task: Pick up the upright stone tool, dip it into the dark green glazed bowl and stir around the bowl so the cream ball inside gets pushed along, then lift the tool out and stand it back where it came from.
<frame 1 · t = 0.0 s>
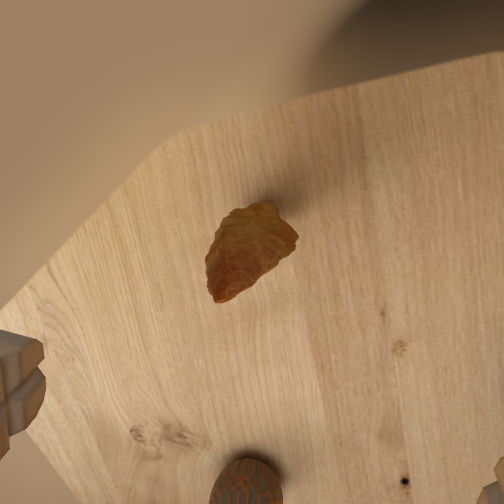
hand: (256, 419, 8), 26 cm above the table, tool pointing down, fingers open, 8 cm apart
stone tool: (269, 207, 34), on the table
vase: (252, 470, 46), on the table
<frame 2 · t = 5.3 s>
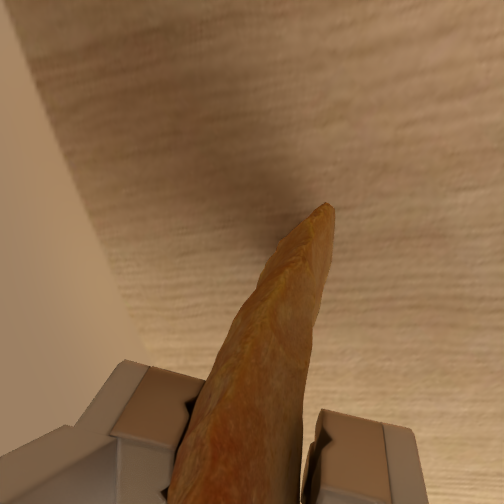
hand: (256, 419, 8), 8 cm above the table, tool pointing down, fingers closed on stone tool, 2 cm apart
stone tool: (296, 241, 15), on the table, touching gripper
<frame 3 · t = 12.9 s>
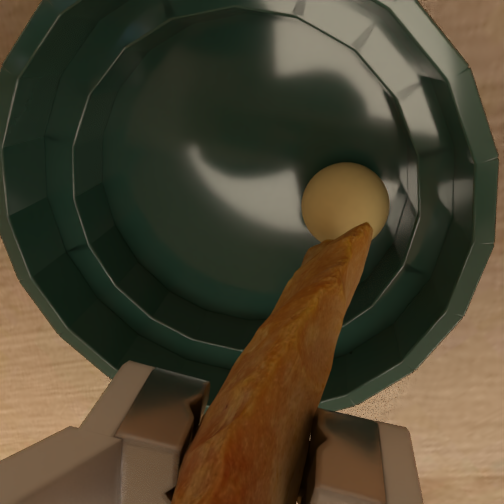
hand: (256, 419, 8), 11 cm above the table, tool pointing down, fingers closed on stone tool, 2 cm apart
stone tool: (326, 251, 15), point 3 cm above the table, touching ball, gripper
glazed bowl: (249, 184, 18), on the table
ball: (344, 206, 16), point 2 cm above the table, tilted 83°, touching glazed bowl, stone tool
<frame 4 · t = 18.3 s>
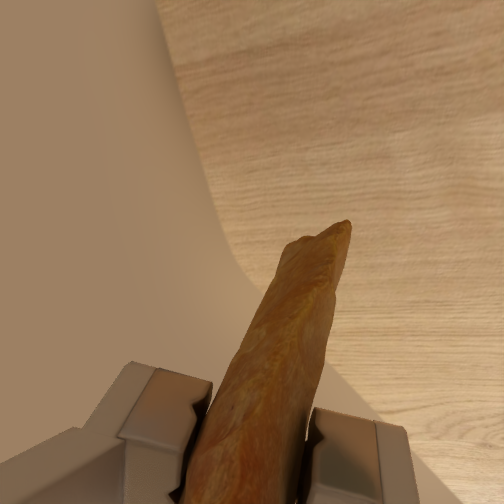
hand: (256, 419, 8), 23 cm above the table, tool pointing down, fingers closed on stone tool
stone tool: (302, 248, 15), point 14 cm above the table, touching gripper
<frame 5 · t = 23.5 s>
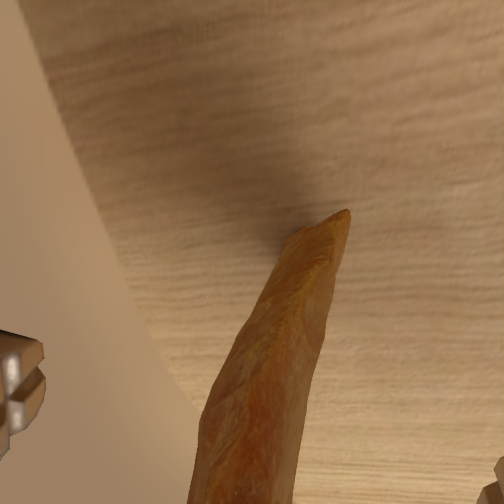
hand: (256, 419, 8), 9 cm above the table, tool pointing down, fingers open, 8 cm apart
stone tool: (304, 239, 16), on the table
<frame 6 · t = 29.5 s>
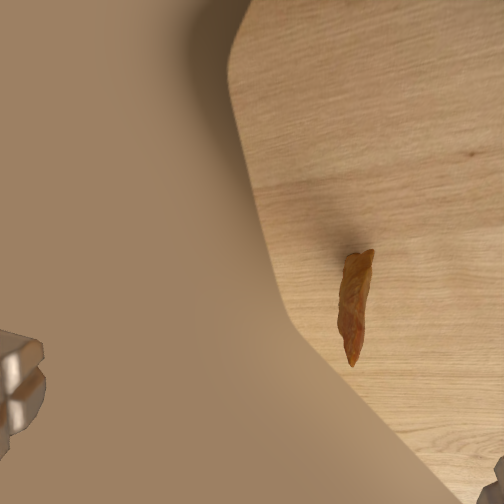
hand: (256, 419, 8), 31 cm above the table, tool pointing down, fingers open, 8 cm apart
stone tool: (353, 257, 40), on the table
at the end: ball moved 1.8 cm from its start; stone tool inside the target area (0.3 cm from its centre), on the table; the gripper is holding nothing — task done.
